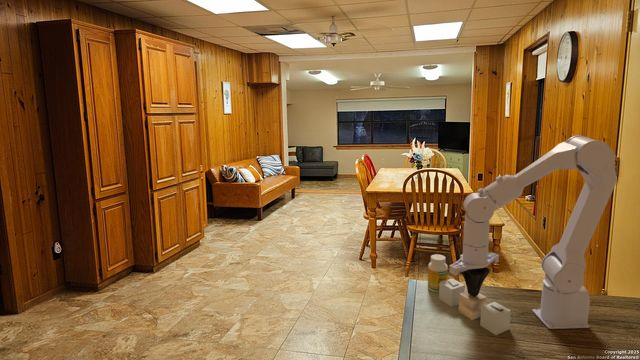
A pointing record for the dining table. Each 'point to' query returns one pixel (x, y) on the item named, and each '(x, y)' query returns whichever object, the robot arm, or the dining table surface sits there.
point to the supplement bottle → (437, 272)
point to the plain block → (471, 305)
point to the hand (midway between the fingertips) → (472, 294)
